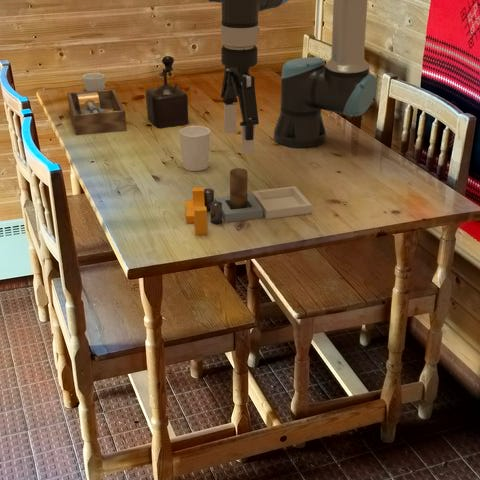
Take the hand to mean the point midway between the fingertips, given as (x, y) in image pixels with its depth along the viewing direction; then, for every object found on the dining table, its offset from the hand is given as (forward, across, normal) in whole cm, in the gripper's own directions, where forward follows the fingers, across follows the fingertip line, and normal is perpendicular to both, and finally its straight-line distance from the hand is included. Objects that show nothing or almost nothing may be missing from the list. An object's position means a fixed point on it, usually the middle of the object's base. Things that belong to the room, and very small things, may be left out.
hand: (238, 142), depth 160 cm
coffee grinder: (+18, +70, +3) cm, 72 cm away
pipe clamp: (+18, -2, +10) cm, 21 cm away
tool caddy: (+17, +74, +24) cm, 80 cm away
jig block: (+18, 0, 0) cm, 18 cm away
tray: (+18, 0, -11) cm, 21 cm away
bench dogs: (+18, 0, +6) cm, 19 cm away
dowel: (+17, 0, 0) cm, 17 cm away
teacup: (+18, +106, +21) cm, 110 cm away
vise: (+18, +75, +25) cm, 81 cm away
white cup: (+18, +30, +3) cm, 35 cm away
